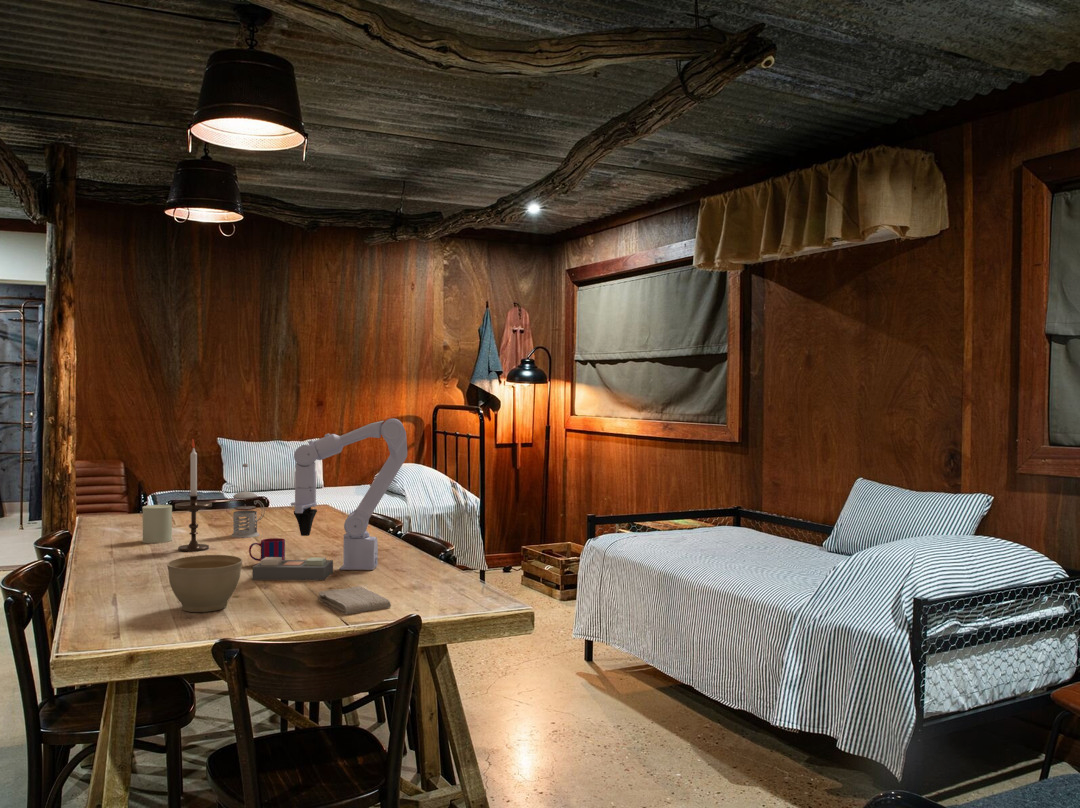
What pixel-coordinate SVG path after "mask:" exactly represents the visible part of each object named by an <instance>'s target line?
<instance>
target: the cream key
mask: <svg viewBox="0 0 1080 808" xmlns="http://www.w3.org/2000/svg"><path fill="white" fill-rule="evenodd" d="M260 562H261V565H279V564H281V563H282V557H265V558H264V559H262V560H261V561H260Z"/></svg>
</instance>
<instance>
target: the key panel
mask: <svg viewBox="0 0 1080 808" xmlns="http://www.w3.org/2000/svg"><path fill="white" fill-rule="evenodd" d="M306 560H307V559H305V560H304V559H285V560H282V563H281V564H279V565H261V561H259V563H257V564H255V565H253V566H252V567H251V569H252V571H251V573H252V575H251V576H252V577H251V578H252V581H325V580H326V579H328V578H329V577H330V576H331V575H332V574H333V573H334V560H333V559H331V560H329V559H328V560H327V559H326V563H325V564H324V565H323V566H305V561H306ZM288 561H294V562H304V563H303V564H302V565H300V566H292V565H283V564H285V563H286V562H288Z"/></svg>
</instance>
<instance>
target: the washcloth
mask: <svg viewBox="0 0 1080 808" xmlns="http://www.w3.org/2000/svg"><path fill="white" fill-rule="evenodd" d="M317 600H318V601H319V602H320V603H322V604H323V605H324V606H326V607H329V608H330V609H332V610H334V611H336V612H338V613H341V614H342V615H352V614H358V613H362V612H363V613H364V612H370V611H371V612H372V611H377V610H384V609H385V610H386V609H389V608H390V607H392V605H391V601H390V600H389V598H386V597H385V596H382V595H380V594H379V593H376V592H374V591H372V590H369V589H367V588H365V587H363V586H360V585H359V586H352V587H349V588H348V587H347V588H343V589H342V588H341V589H339V588H337V589H336V588H332V589H327V590H323V591H319V592H318V597H317Z"/></svg>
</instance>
